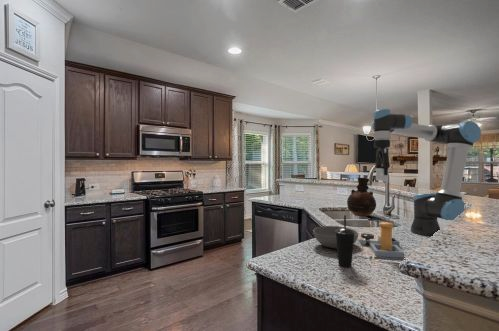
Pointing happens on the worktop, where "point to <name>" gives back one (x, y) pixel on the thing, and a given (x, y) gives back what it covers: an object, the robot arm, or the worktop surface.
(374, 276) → the worktop surface
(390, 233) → the lock pin
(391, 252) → the tray
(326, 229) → the bowl
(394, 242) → the tensioner plate
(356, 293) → the worktop surface
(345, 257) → the drinking cup
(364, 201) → the ceramic vessel
